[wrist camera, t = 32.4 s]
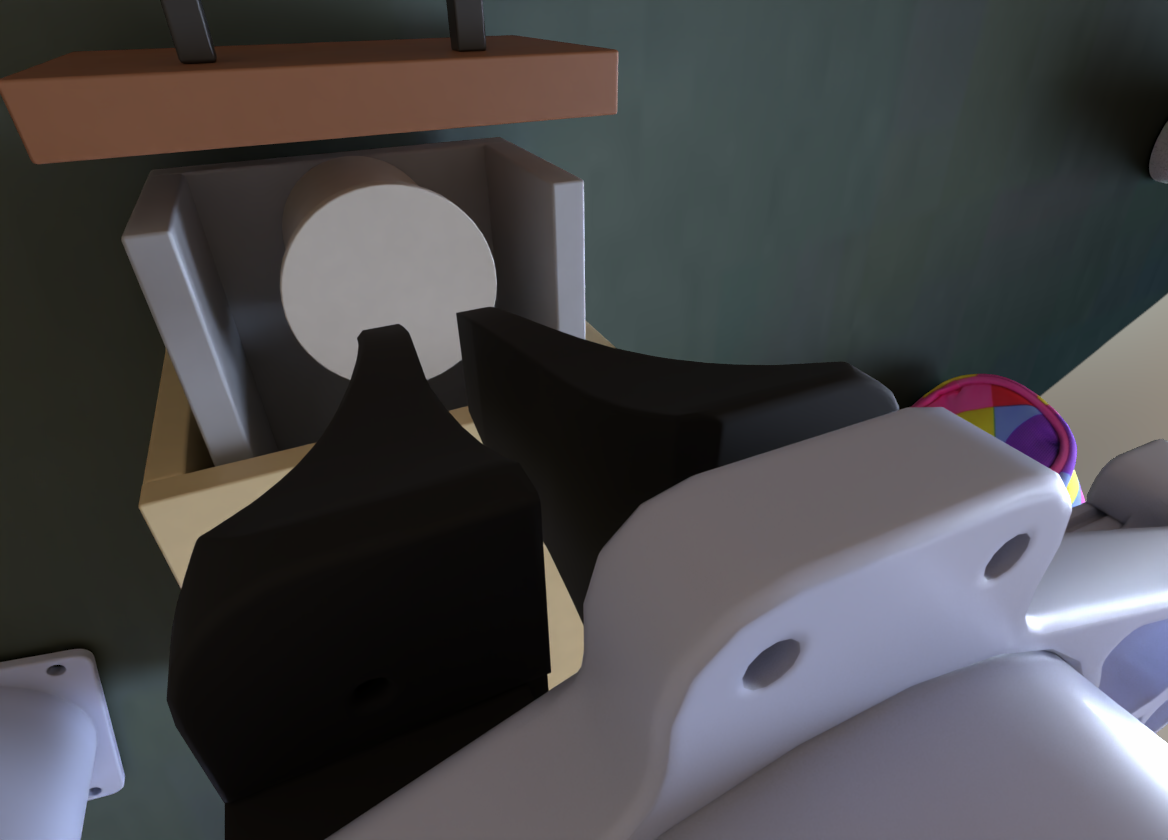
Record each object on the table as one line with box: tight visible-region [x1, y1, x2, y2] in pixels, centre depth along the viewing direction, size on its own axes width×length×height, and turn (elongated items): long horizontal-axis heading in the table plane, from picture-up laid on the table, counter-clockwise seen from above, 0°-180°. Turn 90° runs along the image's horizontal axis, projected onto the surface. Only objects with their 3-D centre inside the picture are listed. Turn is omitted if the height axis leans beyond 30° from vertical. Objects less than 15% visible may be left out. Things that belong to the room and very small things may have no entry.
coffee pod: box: [280, 156, 497, 380], centre depth 16 cm, size 5×5×5 cm
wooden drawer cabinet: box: [138, 320, 615, 690], centre depth 22 cm, size 14×12×8 cm
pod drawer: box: [0, 0, 618, 467], centre depth 16 cm, size 17×10×6 cm, turn 179°
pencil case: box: [911, 374, 1085, 508], centre depth 40 cm, size 22×9×9 cm, turn 41°
